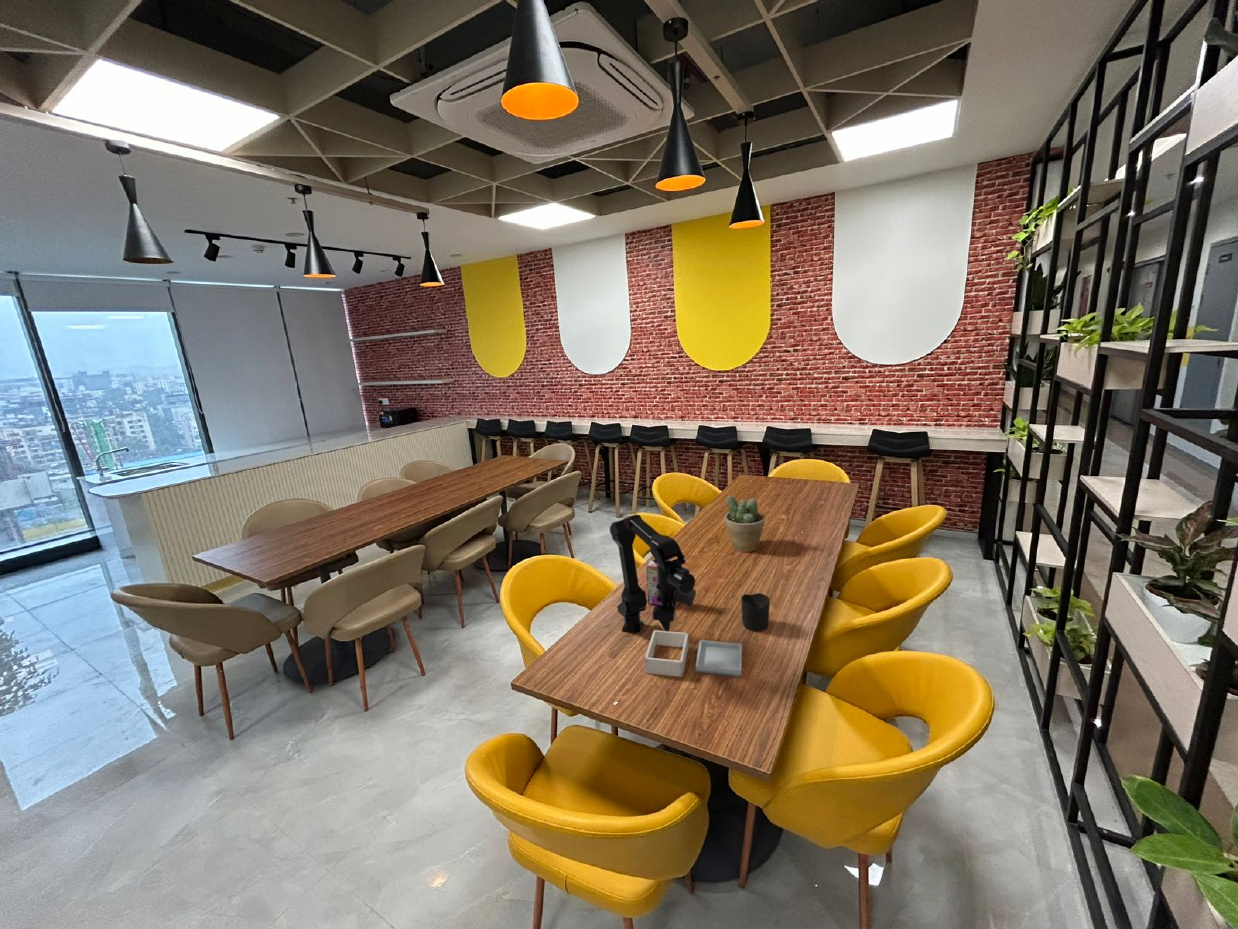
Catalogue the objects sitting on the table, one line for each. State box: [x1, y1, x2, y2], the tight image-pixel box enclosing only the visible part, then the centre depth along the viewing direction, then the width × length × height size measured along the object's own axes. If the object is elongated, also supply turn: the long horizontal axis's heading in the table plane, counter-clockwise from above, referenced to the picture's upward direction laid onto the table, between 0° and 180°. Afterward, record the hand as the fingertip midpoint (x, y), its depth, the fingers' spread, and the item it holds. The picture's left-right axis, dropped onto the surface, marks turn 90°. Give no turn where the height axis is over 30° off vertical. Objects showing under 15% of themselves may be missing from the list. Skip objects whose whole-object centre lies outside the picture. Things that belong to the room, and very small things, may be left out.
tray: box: [695, 639, 743, 678], centre depth 155 cm, size 13×13×2 cm
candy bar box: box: [646, 560, 678, 608], centre depth 189 cm, size 11×5×16 cm, turn 74°
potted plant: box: [724, 495, 766, 553], centre depth 232 cm, size 18×19×25 cm
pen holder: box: [740, 593, 771, 632], centre depth 171 cm, size 9×9×10 cm
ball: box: [658, 613, 679, 632], centre depth 154 cm, size 6×6×6 cm
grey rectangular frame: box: [644, 629, 690, 678], centre depth 156 cm, size 15×11×5 cm
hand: (668, 625), depth 154 cm, fingers closed on ball, 6 cm apart
